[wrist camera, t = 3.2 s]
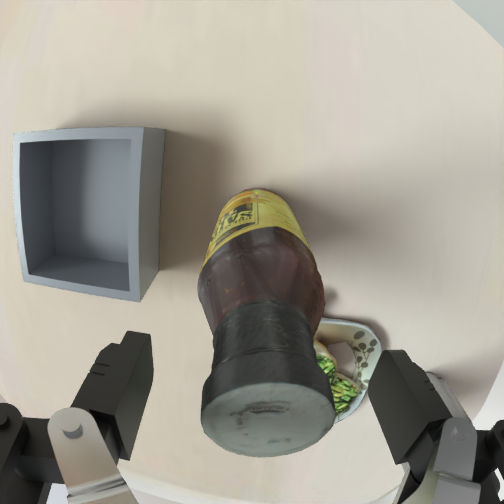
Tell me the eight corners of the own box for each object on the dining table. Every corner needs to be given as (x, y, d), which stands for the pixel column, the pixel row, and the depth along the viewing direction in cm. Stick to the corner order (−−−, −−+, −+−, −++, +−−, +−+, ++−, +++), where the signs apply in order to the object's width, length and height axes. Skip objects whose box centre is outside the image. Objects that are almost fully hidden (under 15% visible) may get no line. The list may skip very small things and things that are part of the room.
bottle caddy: (165, 129, 23) (143, 127, 18) (158, 271, 28) (140, 302, 22) (51, 130, 23) (13, 133, 17) (54, 257, 27) (23, 281, 21)
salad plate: (228, 275, 28) (225, 300, 24) (401, 295, 30) (420, 318, 25) (211, 412, 35) (208, 441, 31) (345, 418, 36) (353, 443, 32)
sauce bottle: (239, 173, 25) (219, 281, 6) (306, 207, 26) (427, 366, 7) (205, 241, 27) (139, 440, 8) (269, 271, 28) (303, 481, 9)
